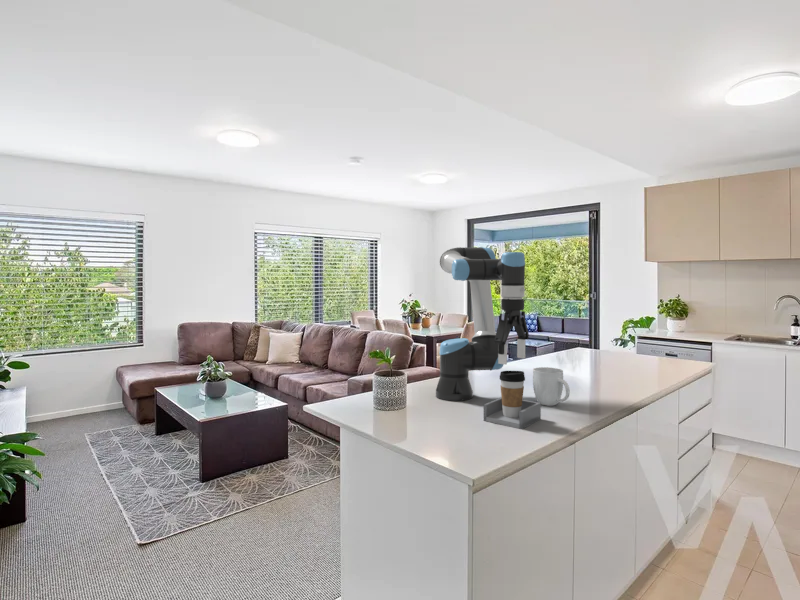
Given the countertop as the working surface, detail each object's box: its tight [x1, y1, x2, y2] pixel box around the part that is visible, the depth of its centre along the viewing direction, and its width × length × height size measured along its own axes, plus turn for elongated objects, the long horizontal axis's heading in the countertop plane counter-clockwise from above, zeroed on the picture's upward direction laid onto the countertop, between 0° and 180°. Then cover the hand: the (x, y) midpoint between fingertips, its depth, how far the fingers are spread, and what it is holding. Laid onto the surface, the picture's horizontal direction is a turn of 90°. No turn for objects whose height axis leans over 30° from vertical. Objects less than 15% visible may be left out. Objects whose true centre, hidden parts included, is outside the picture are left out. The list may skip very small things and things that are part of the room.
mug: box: [532, 366, 571, 407], centre depth 174 cm, size 15×11×13 cm
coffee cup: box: [499, 370, 526, 418], centre depth 155 cm, size 8×8×15 cm
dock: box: [483, 397, 542, 430], centre depth 156 cm, size 14×14×6 cm
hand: (512, 361), depth 155 cm, fingers open, 13 cm apart
